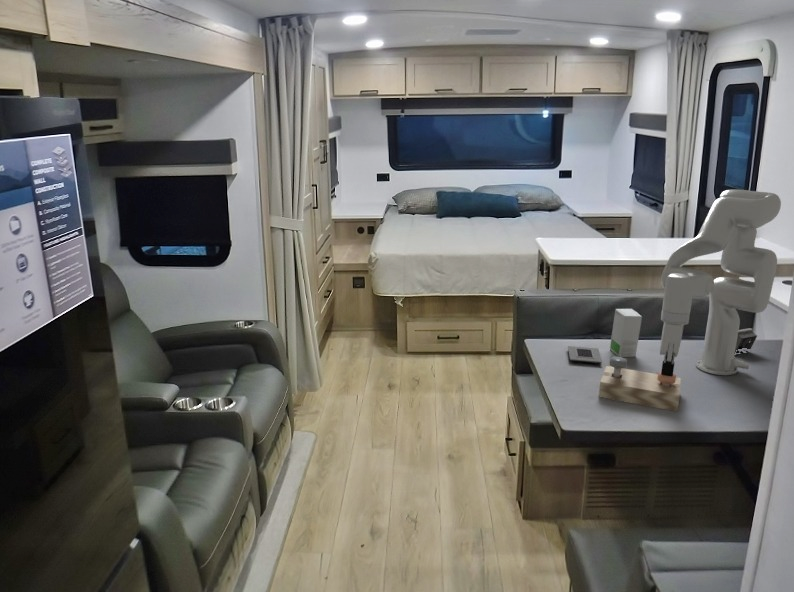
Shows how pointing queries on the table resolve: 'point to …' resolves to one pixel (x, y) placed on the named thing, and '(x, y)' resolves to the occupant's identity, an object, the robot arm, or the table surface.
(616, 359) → the grey button
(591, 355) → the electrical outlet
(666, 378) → the terracotta button
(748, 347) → the electrical switch
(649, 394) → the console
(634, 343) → the skincare box
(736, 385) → the table surface
